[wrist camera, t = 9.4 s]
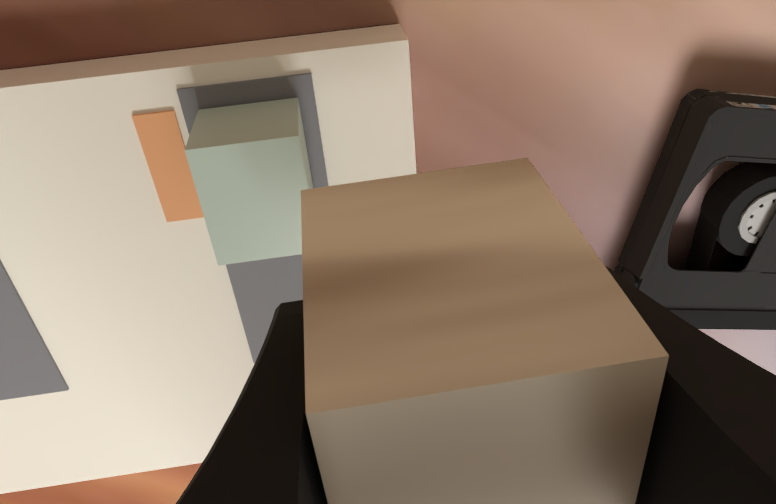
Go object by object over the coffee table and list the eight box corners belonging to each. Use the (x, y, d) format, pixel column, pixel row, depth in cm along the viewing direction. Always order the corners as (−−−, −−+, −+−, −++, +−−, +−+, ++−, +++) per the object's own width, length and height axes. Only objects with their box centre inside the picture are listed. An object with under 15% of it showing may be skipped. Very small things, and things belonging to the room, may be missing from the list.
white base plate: (424, 396, 24) (432, 429, 23) (-28, 465, 23) (-48, 503, 22) (399, 23, 16) (408, 40, 15) (-294, 104, 15) (-350, 130, 14)
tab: (316, 204, 17) (319, 252, 15) (226, 216, 17) (217, 265, 15) (297, 97, 15) (298, 135, 13) (198, 109, 15) (184, 149, 13)
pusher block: (520, 328, 13) (623, 552, 9) (333, 357, 13) (352, 601, 9) (527, 157, 11) (669, 355, 7) (300, 189, 11) (305, 414, 7)
